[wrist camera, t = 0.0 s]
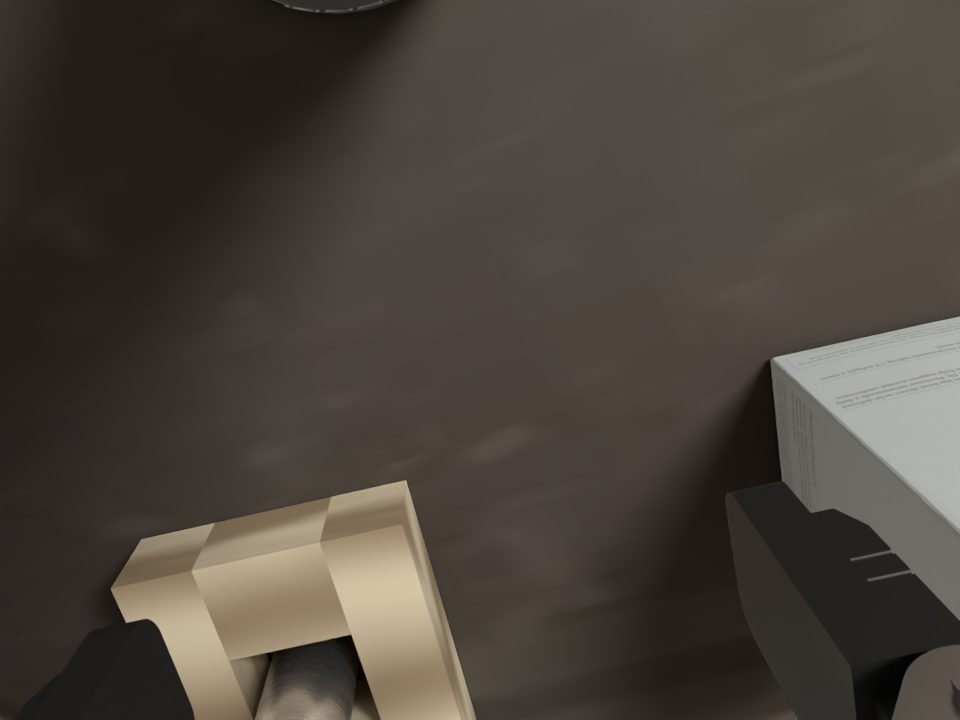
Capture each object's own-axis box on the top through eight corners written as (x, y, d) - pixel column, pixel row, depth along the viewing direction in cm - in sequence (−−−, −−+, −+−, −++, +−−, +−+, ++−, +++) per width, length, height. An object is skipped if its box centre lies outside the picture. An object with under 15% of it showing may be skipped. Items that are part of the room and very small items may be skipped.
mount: (141, 539, 30) (110, 588, 27) (405, 480, 30) (402, 524, 27) (246, 780, 34) (228, 844, 32) (479, 731, 34) (482, 791, 31)
